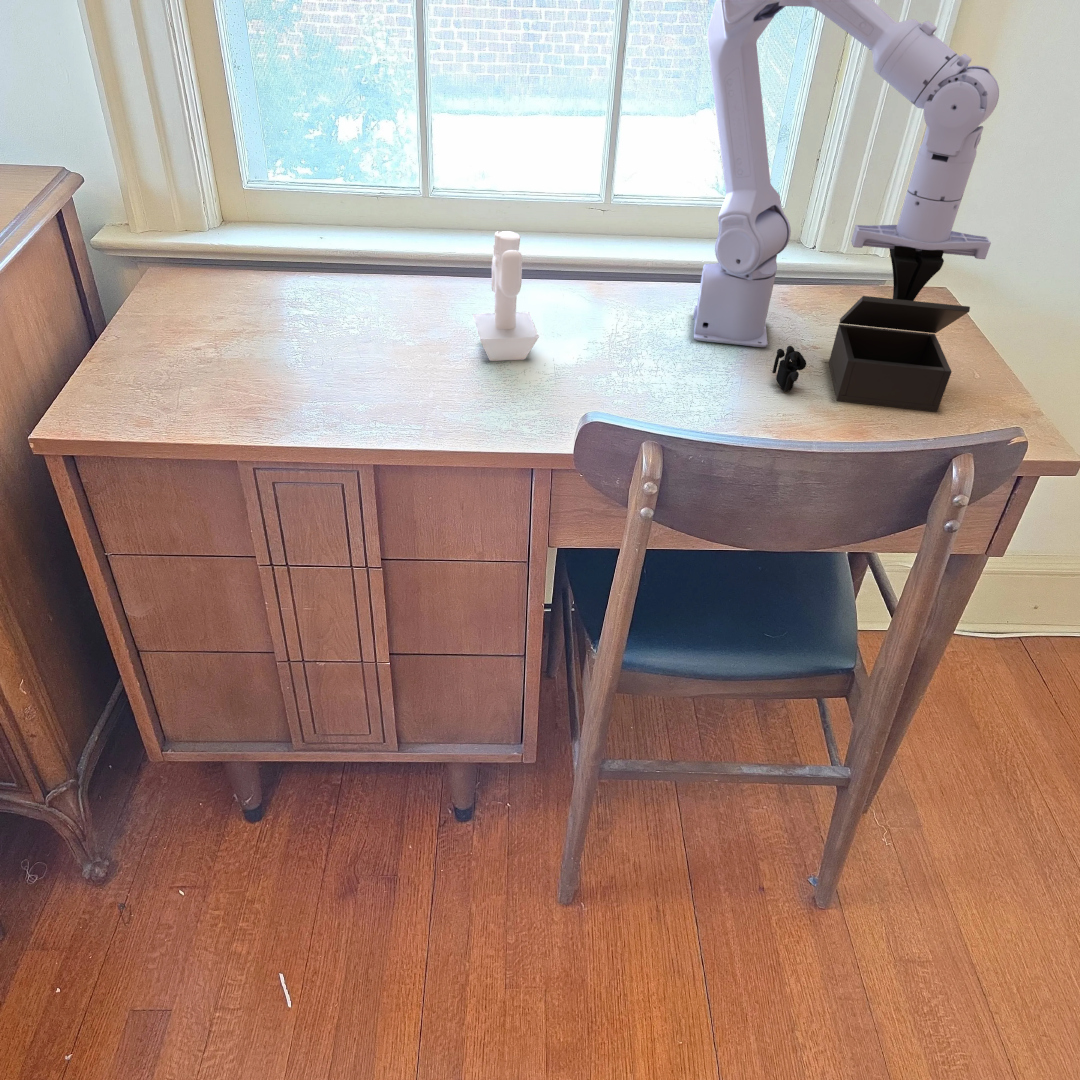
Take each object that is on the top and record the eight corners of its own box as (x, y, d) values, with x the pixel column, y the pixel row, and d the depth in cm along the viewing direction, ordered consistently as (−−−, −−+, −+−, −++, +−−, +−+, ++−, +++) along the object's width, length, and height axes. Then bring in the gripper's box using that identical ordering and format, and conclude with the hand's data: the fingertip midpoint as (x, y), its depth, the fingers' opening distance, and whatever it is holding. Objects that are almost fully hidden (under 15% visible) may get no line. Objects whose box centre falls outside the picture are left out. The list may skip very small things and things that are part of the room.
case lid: (969, 311, 99) (970, 306, 99) (862, 301, 100) (862, 295, 100) (935, 333, 109) (936, 328, 109) (839, 323, 111) (839, 318, 111)
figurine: (526, 334, 117) (530, 219, 107) (539, 368, 109) (545, 247, 100) (471, 337, 115) (470, 220, 106) (480, 371, 108) (481, 249, 99)
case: (937, 412, 105) (951, 371, 102) (836, 401, 106) (848, 360, 103) (922, 372, 113) (935, 333, 110) (828, 362, 114) (838, 323, 111)
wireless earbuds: (768, 373, 111) (777, 336, 108) (788, 373, 111) (797, 336, 108) (785, 401, 105) (795, 363, 102) (806, 401, 106) (816, 363, 103)
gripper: (994, 188, 100) (954, 303, 108) (862, 176, 101) (832, 291, 110) (1010, 208, 94) (967, 328, 103) (870, 195, 96) (839, 315, 104)
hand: (898, 310), depth 106 cm, fingers closed
